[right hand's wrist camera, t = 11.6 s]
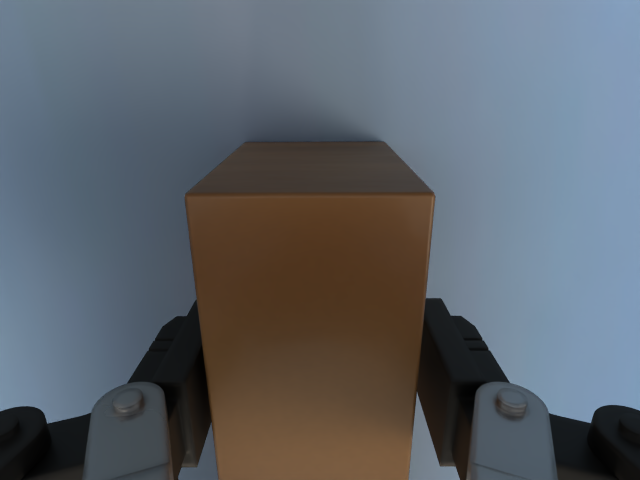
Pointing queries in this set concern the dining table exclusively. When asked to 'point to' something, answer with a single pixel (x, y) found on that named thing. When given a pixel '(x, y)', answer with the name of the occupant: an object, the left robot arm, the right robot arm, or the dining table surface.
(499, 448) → the right robot arm
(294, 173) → the post
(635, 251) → the dining table surface
